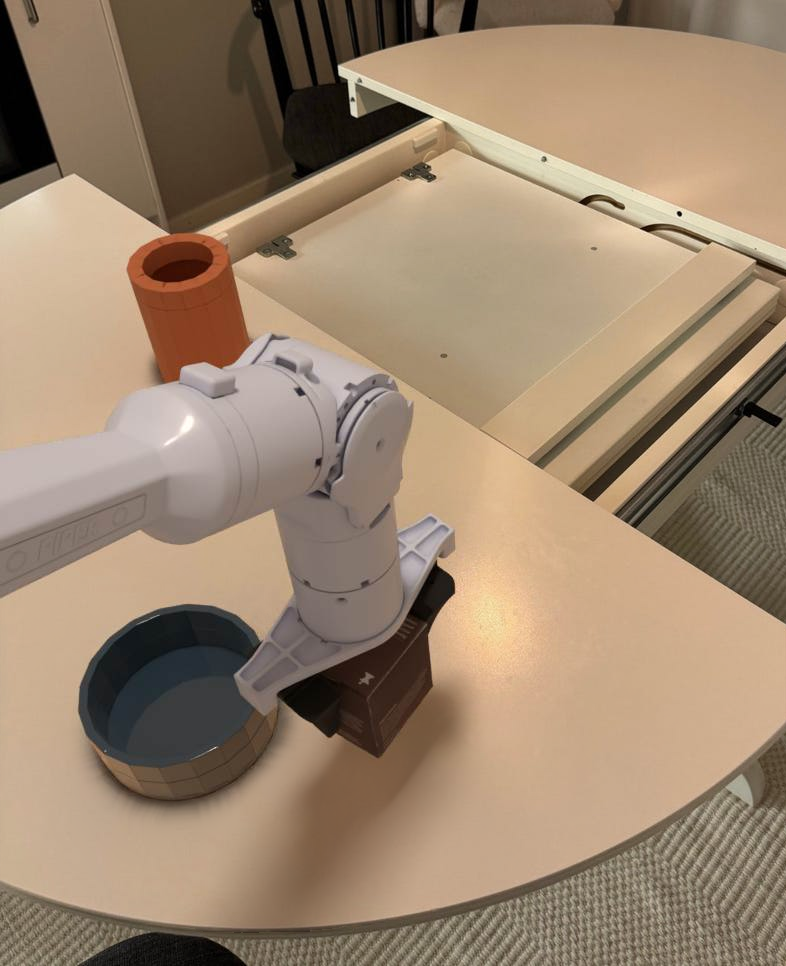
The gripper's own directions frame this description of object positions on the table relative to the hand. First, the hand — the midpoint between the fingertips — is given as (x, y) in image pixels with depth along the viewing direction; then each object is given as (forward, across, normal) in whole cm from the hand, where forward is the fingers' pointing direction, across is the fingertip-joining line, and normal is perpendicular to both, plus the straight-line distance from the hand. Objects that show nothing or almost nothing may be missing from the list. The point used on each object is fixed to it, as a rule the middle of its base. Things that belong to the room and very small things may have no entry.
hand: (366, 684), depth 59 cm
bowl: (+9, +7, -12) cm, 17 cm away
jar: (+9, -17, -41) cm, 45 cm away
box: (+2, 0, 0) cm, 2 cm away
